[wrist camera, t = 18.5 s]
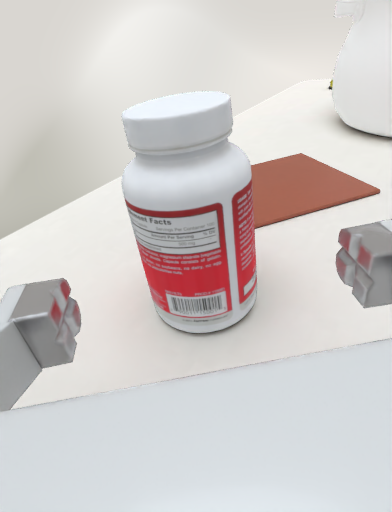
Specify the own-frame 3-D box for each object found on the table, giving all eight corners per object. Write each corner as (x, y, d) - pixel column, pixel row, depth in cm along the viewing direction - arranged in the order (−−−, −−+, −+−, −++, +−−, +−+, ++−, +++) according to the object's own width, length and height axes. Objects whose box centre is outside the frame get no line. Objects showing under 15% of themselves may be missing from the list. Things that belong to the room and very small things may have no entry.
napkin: (226, 236, 26) (226, 233, 26) (183, 184, 36) (183, 182, 36) (379, 192, 29) (380, 189, 28) (301, 155, 38) (301, 153, 38)
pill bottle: (218, 257, 24) (199, 84, 18) (279, 303, 19) (282, 92, 13) (138, 295, 22) (84, 111, 15) (187, 357, 17) (137, 131, 11)
